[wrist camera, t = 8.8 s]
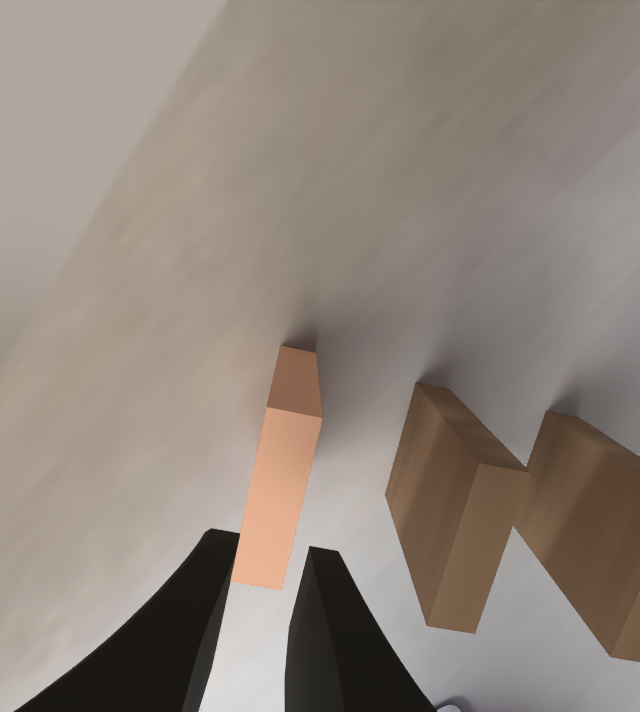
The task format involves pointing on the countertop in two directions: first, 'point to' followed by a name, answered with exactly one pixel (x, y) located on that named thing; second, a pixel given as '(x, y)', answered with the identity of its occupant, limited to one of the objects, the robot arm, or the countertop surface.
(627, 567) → the tile
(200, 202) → the countertop surface
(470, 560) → the tile
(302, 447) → the lead tile
